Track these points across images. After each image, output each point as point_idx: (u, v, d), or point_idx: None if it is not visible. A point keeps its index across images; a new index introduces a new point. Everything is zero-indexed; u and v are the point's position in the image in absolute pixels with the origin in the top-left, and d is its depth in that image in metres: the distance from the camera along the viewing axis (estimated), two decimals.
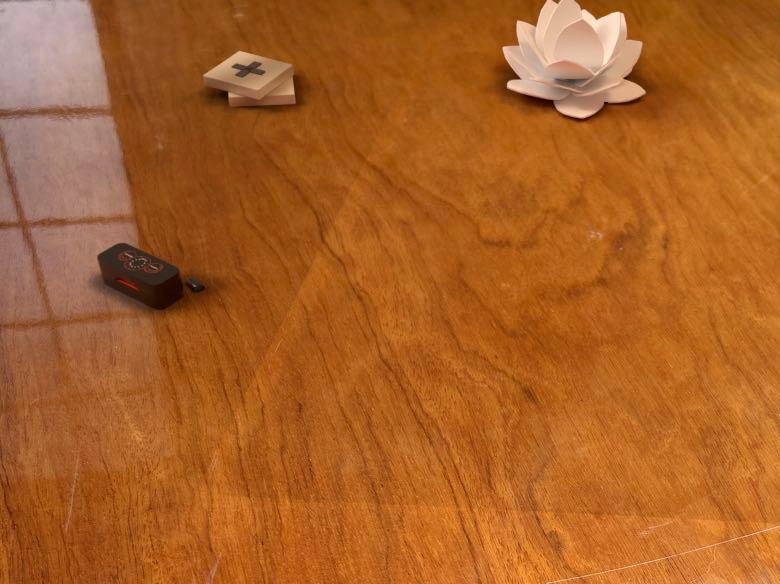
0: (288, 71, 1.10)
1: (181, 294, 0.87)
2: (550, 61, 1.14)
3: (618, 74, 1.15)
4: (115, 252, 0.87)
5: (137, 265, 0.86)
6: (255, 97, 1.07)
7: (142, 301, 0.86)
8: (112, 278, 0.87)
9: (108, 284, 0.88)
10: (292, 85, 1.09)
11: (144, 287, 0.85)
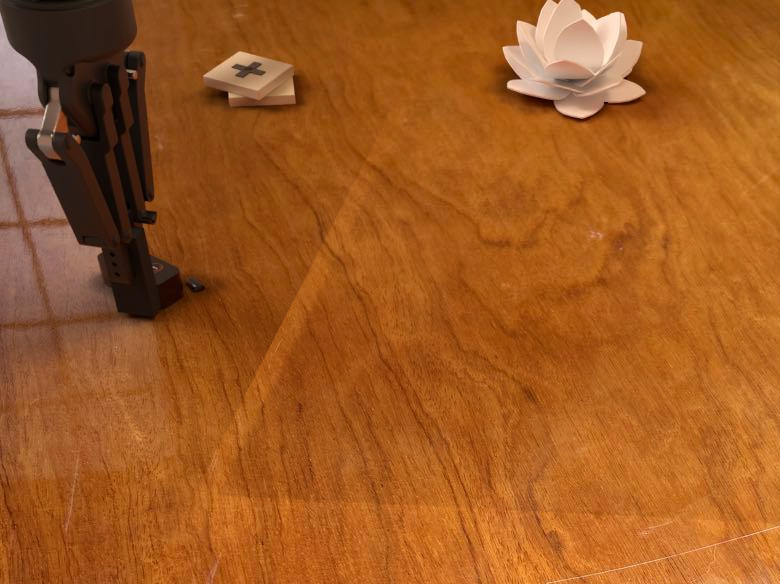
0: (288, 71, 1.10)
1: (181, 294, 0.87)
2: (550, 61, 1.14)
3: (618, 74, 1.15)
4: None
5: None
6: (255, 97, 1.07)
7: None
8: None
9: (108, 284, 0.88)
10: (292, 85, 1.09)
11: None
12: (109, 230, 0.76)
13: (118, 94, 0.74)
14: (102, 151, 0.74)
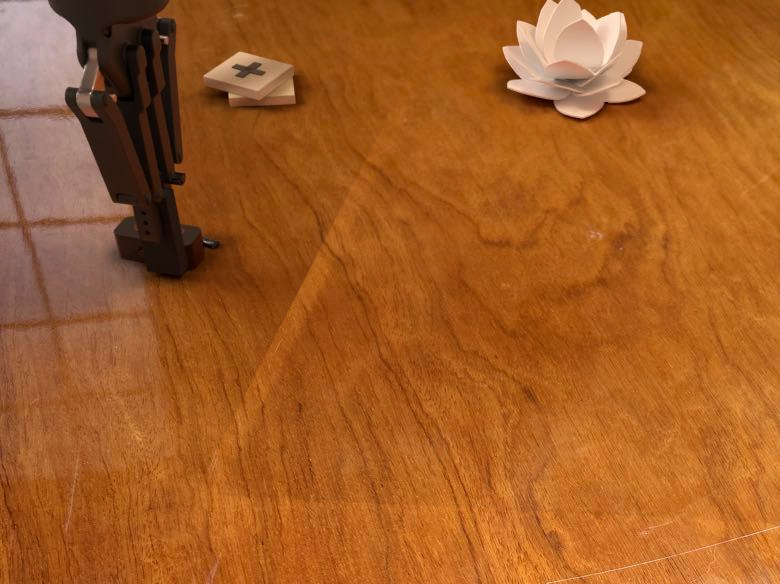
0: (288, 72, 1.10)
1: (204, 252, 0.91)
2: (550, 61, 1.14)
3: (618, 74, 1.15)
4: (128, 225, 0.90)
5: None
6: (255, 98, 1.07)
7: None
8: (133, 250, 0.89)
9: (127, 258, 0.90)
10: (292, 86, 1.09)
11: None
12: (142, 187, 0.80)
13: (151, 57, 0.78)
14: (136, 111, 0.78)
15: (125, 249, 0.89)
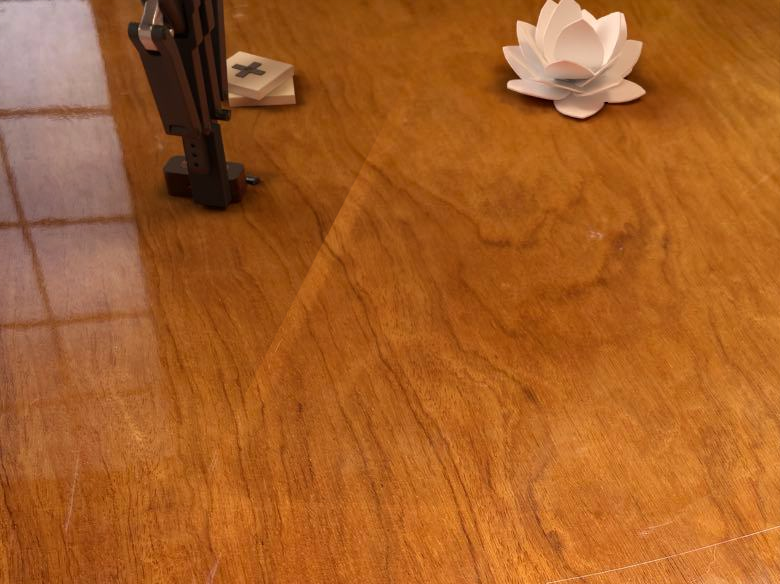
0: (288, 71, 1.10)
1: (247, 187, 0.98)
2: (550, 61, 1.14)
3: (618, 74, 1.15)
4: (176, 163, 0.96)
5: None
6: (255, 97, 1.07)
7: None
8: (182, 186, 0.96)
9: (176, 194, 0.97)
10: (292, 85, 1.09)
11: None
12: (193, 119, 0.87)
13: None
14: (189, 47, 0.85)
15: (174, 185, 0.96)
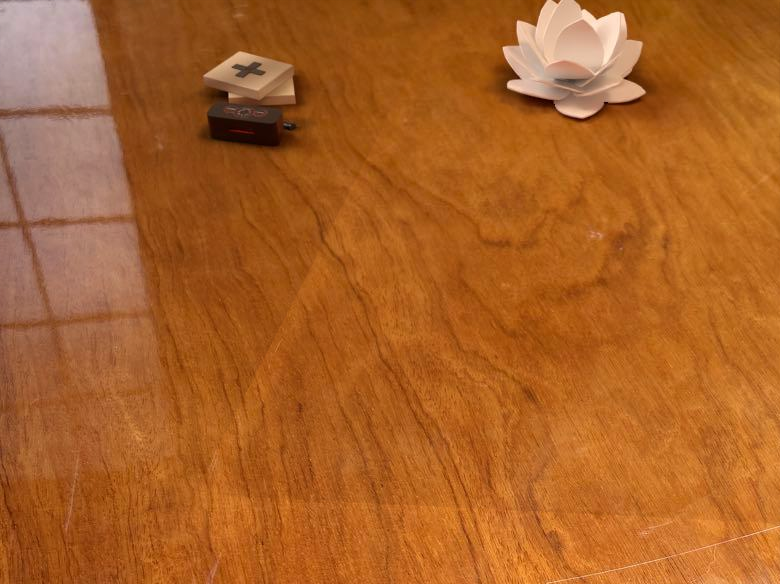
0: (288, 71, 1.10)
1: (284, 132, 1.04)
2: (550, 61, 1.14)
3: (618, 74, 1.15)
4: (218, 109, 1.03)
5: (245, 113, 1.03)
6: (255, 97, 1.07)
7: (257, 143, 1.03)
8: (224, 130, 1.03)
9: (218, 138, 1.03)
10: (292, 85, 1.09)
11: (260, 129, 1.02)
12: None
13: None
14: None
15: (216, 129, 1.03)
